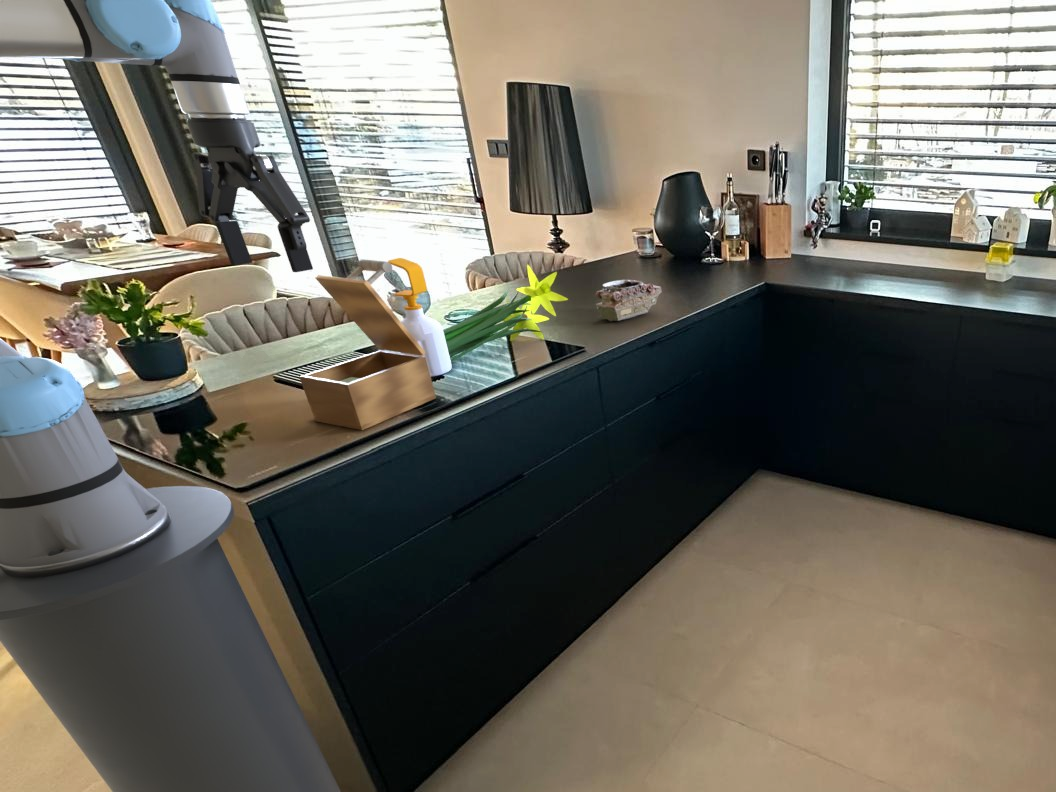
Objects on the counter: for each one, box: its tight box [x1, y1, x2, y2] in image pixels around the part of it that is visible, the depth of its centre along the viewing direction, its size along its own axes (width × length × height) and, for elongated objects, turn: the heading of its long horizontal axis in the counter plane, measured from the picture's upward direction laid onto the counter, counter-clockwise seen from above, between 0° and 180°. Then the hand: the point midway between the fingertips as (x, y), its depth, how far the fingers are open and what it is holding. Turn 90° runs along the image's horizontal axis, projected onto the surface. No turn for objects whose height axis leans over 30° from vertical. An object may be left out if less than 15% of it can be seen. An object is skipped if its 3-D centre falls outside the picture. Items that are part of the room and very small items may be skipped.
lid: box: [314, 258, 426, 356], centre depth 119 cm, size 18×12×8 cm
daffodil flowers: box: [443, 263, 569, 363], centre depth 154 cm, size 17×15×35 cm
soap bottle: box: [387, 257, 453, 378], centre depth 135 cm, size 9×9×25 cm
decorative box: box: [594, 279, 663, 322], centre depth 185 cm, size 13×20×10 cm, turn 139°
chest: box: [299, 349, 437, 431], centre depth 119 cm, size 17×12×9 cm
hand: (272, 267), depth 100 cm, fingers open, 13 cm apart
